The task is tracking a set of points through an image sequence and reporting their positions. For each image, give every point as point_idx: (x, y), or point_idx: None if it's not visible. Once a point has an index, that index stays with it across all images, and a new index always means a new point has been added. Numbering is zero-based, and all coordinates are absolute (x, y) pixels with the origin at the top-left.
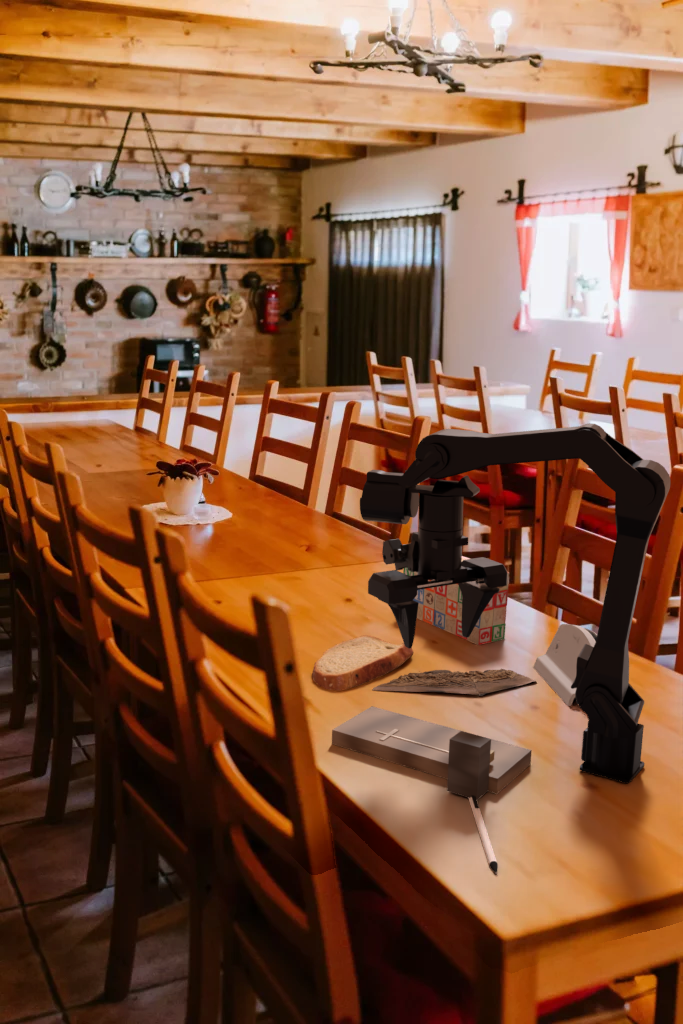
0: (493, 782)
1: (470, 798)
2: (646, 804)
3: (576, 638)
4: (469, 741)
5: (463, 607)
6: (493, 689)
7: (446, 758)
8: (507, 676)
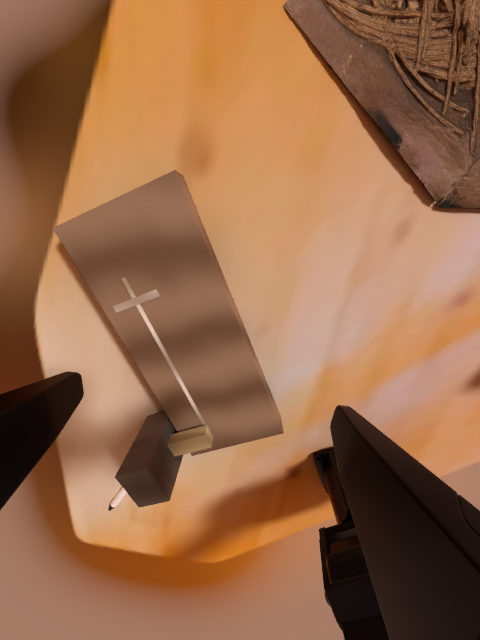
0: None
1: None
2: (304, 511)
3: None
4: (137, 492)
5: (422, 530)
6: None
7: (169, 396)
8: None
